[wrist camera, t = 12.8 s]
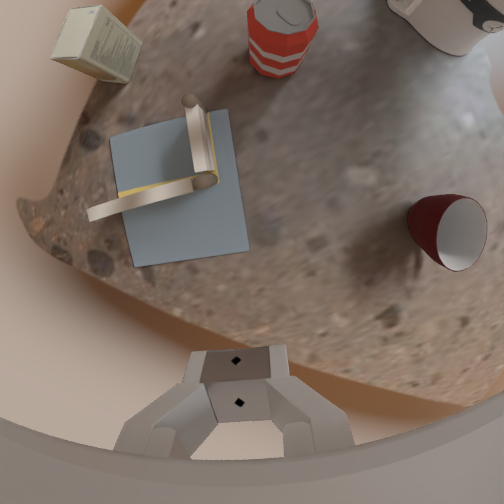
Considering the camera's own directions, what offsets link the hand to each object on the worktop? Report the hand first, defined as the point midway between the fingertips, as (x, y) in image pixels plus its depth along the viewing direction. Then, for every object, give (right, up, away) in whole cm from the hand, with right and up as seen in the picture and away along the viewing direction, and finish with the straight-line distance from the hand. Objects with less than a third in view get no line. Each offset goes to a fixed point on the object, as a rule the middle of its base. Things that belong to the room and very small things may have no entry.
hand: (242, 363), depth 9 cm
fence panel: (-11, +10, +24) cm, 29 cm away
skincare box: (-16, +28, +20) cm, 38 cm away
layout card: (-9, +11, +25) cm, 28 cm away
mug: (+23, +7, +26) cm, 35 cm away
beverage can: (+3, +27, +20) cm, 34 cm away
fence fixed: (-5, +16, +23) cm, 28 cm away
